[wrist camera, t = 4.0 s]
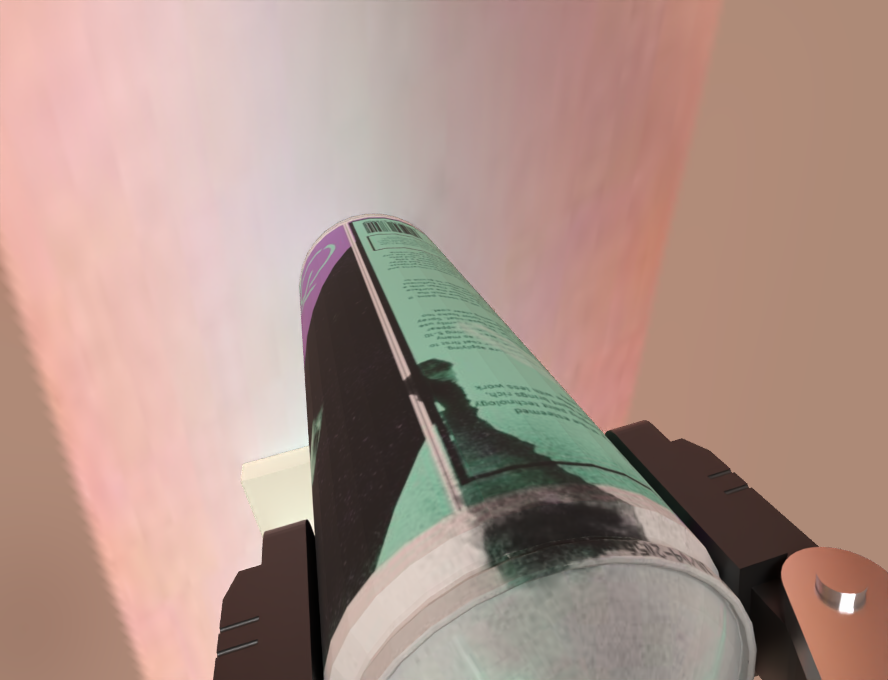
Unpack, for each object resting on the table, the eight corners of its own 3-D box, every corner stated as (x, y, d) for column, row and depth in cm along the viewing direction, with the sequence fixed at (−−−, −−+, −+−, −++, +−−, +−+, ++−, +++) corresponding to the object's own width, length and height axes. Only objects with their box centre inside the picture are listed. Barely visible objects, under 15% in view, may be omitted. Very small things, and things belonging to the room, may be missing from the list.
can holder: (242, 464, 25) (229, 576, 19) (469, 400, 26) (519, 488, 20) (330, 689, 31) (339, 824, 25) (511, 628, 32) (558, 744, 26)
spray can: (270, 256, 22) (194, 1089, 4) (407, 186, 22) (946, 669, 4) (343, 375, 24) (507, 1224, 6) (466, 311, 24) (966, 960, 6)
